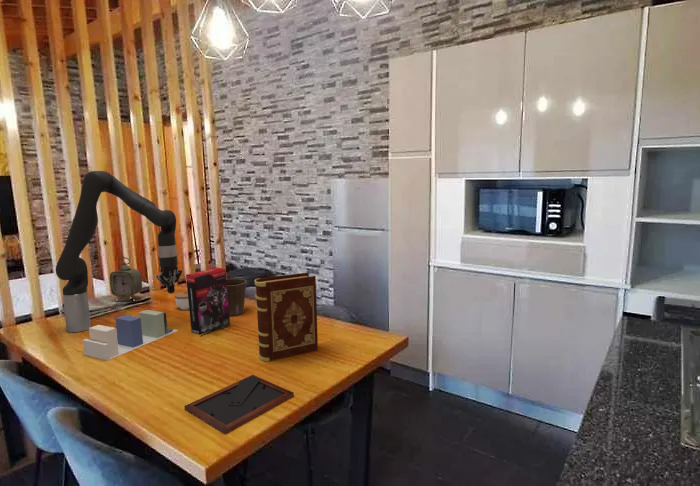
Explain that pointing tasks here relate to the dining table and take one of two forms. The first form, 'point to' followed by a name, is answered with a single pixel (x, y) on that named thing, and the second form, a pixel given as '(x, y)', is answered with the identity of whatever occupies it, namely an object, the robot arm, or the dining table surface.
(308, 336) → the decorative book
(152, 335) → the sage book
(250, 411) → the picture frame
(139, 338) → the navy book
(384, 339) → the dining table surface
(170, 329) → the bookend
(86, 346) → the shelf board
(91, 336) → the ivory book
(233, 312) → the plant pot
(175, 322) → the dining table surface
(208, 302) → the graphics card box
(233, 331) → the dining table surface
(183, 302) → the lidded jar
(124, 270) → the tabletop clock
